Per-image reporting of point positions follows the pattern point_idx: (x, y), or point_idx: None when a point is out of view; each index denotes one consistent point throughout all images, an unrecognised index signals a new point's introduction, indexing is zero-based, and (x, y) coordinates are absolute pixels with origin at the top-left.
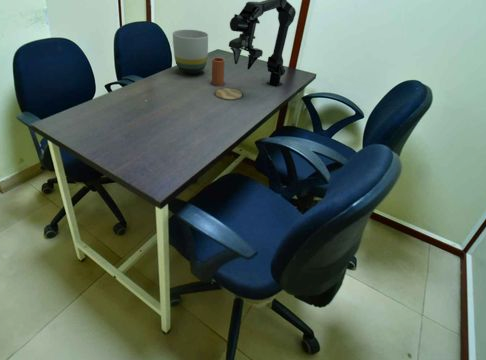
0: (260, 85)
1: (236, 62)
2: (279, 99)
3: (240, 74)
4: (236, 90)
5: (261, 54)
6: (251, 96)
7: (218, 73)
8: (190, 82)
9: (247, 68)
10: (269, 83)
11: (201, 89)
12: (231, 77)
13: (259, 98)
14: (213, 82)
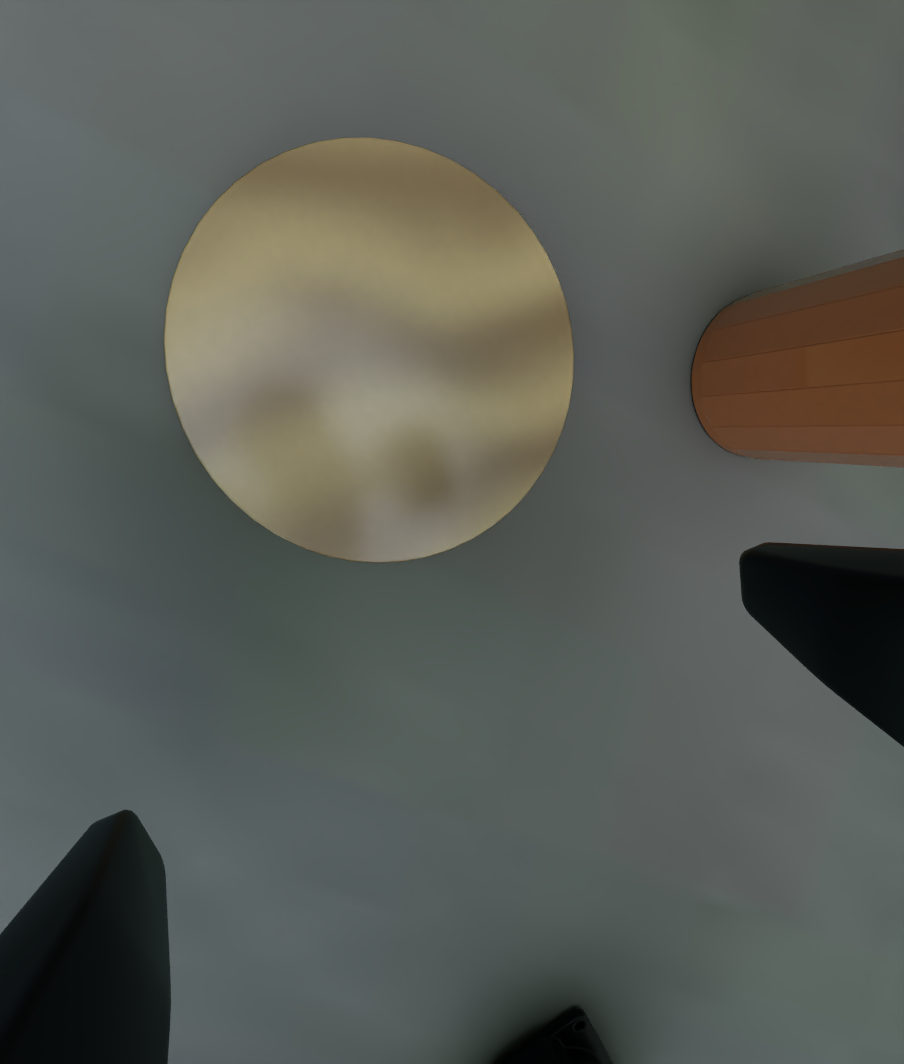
0: (544, 907)
1: (781, 605)
2: None
3: (892, 767)
4: (457, 523)
5: None
6: (221, 668)
7: (842, 320)
8: (891, 14)
9: (111, 822)
10: (549, 1035)
11: (647, 37)
12: None
13: (118, 760)
14: (762, 291)
